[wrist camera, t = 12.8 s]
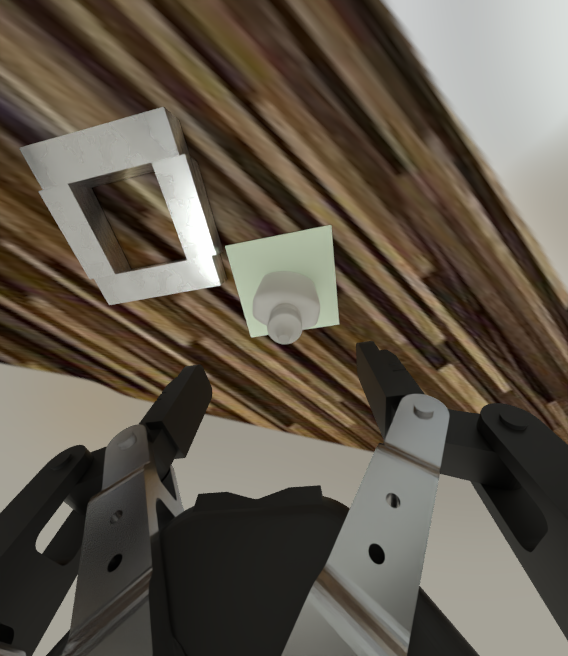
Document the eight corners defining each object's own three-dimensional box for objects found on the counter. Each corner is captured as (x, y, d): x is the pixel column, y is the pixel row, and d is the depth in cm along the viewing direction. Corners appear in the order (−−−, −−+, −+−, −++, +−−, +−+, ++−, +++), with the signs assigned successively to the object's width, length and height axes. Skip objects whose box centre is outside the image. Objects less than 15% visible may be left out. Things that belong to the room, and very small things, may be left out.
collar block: (44, 157, 20) (14, 149, 18) (184, 118, 19) (169, 105, 16) (120, 298, 26) (105, 305, 24) (231, 278, 25) (225, 284, 23)
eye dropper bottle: (295, 314, 26) (297, 382, 15) (256, 286, 25) (227, 340, 14) (319, 285, 24) (341, 339, 13) (278, 254, 23) (266, 285, 12)
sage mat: (226, 245, 23) (224, 246, 23) (330, 224, 22) (331, 224, 21) (251, 335, 28) (251, 337, 27) (338, 322, 27) (339, 324, 26)
